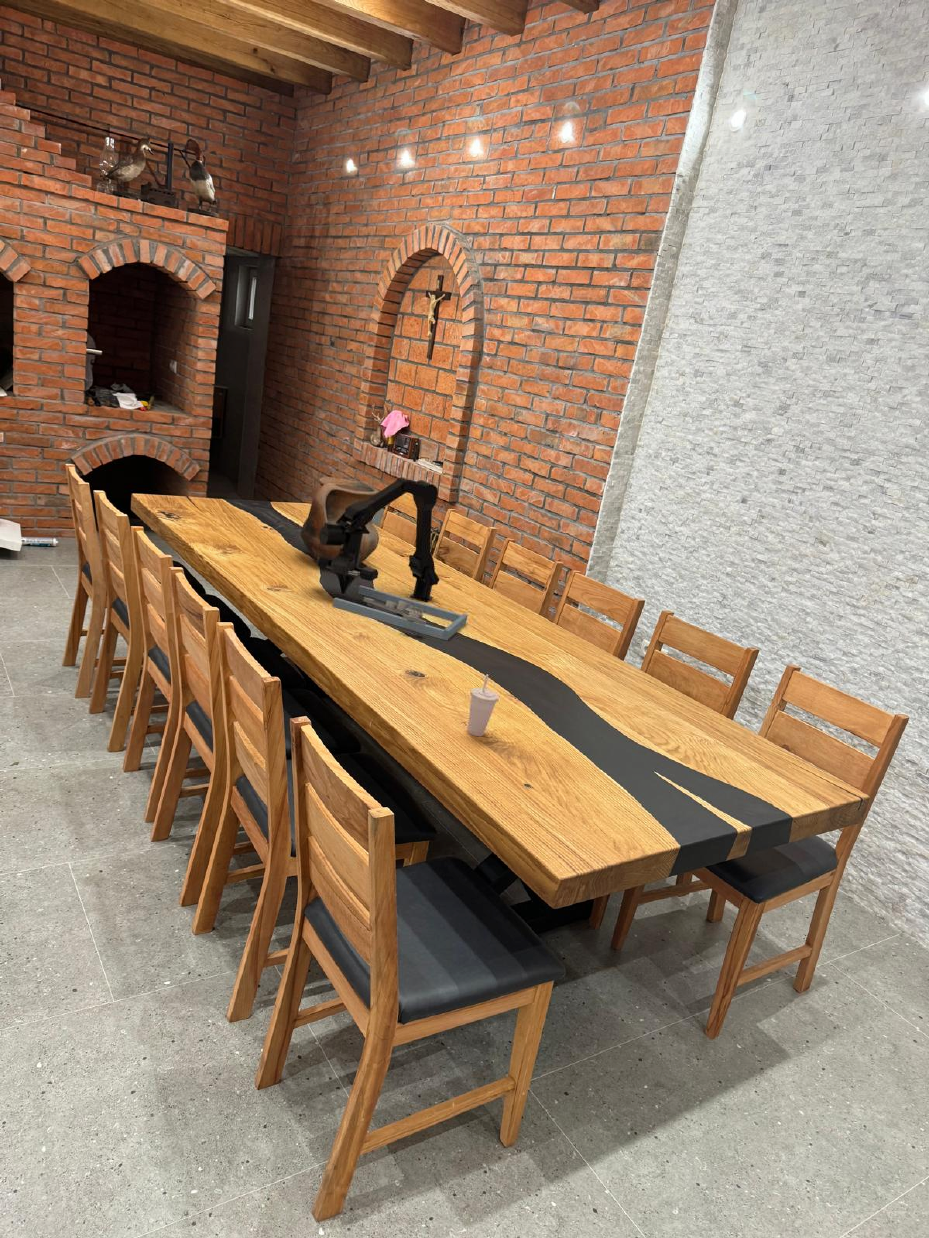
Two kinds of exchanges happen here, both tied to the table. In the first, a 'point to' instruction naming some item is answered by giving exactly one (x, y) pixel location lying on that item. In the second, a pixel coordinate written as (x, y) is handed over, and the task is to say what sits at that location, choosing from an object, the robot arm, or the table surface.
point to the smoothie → (481, 709)
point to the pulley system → (411, 611)
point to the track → (400, 621)
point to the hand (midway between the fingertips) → (343, 593)
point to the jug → (336, 516)
